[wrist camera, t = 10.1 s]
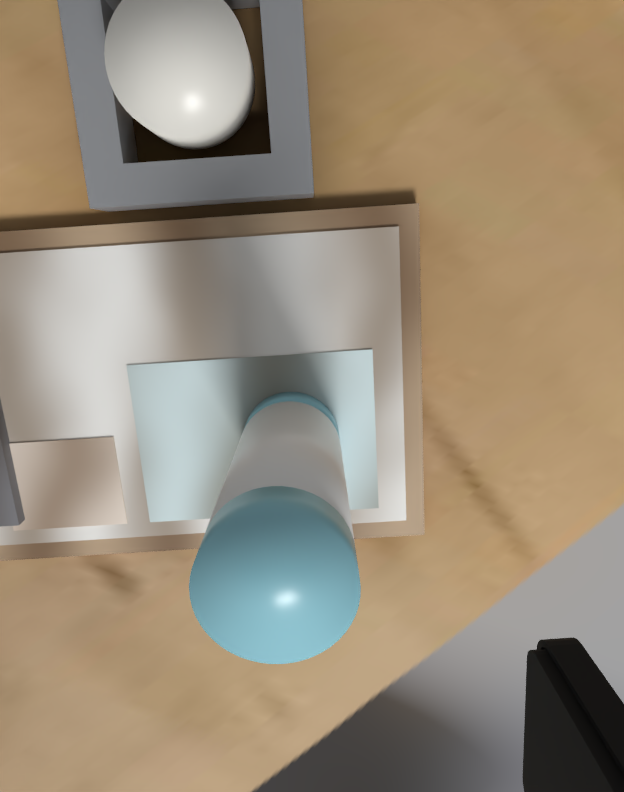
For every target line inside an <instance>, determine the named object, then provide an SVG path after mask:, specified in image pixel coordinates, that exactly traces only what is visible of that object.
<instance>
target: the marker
mask: <svg viewBox="0 0 624 792" xmlns="http://www.w3.org/2000/svg"><path fill="white" fill-rule="evenodd" d="M360 588H361V586H360V578H359V571H358V564H357V557H356V550H355V543H354V536H353V529H352V522H351V515H350V508H349V500H348V493H347V486H346V479H345V472H344V465H343V458H342V451H341V444H340V437H339V430H338V426H337V422H336V420H335V418H334V416H333V414H332V413H331V411H330V410H329V409H328V408H327V407H326V406H325V405H324V404H323V403H322V402H321V401H319V400H318V399H316V398H314V397H312V396H310V395H307V394H304V393H300V392H283V393H278V394H275V395H272V396H270V397H268V398H266V399H264V400H263V401H262V402H260V403H259V404H258V405H257V406H256V407H255V408H254V410H253V411H252V412H251V414H250V416H249V417H248V420H247V422H246V425H245V427H244V430H243V433H242V435H241V438H240V441H239V443H238V446H237V449H236V451H235V454H234V457H233V459H232V462H231V465H230V468H229V470H228V473H227V476H226V478H225V481H224V484H223V486H222V489H221V492H220V494H219V497H218V500H217V502H216V505H215V508H214V510H213V513H212V516H211V518H210V521H209V524H208V526H207V529H206V532H205V534H204V537H203V540H202V543H201V545H200V548H199V551H198V553H197V556H196V559H195V561H194V564H193V567H192V571H191V575H190V583H189V592H190V600H191V604H192V608H193V611H194V613H195V616H196V618H197V619H198V621H199V623H200V625H201V626H202V628H203V629H204V630H205V632H206V633H207V634H208V635H209V636H210V637H211V638H212V639H213V640H214V641H215V642H216V643H217V644H219V645H220V646H221V647H223V648H224V649H226V650H227V651H229V652H231V653H233V654H235V655H237V656H239V657H242V658H245V659H247V660H251V661H255V662H259V663H268V664H285V663H293V662H298V661H302V660H305V659H308V658H311V657H313V656H315V655H318V654H320V653H322V652H323V651H325V650H326V649H328V648H329V647H331V646H332V645H333V644H334V643H336V642H337V641H338V640H339V639H340V638H341V637H342V636H343V635H344V634H345V632H346V631H347V630H348V628H349V627H350V625H351V623H352V621H353V619H354V617H355V615H356V612H357V609H358V606H359V601H360Z"/></svg>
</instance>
